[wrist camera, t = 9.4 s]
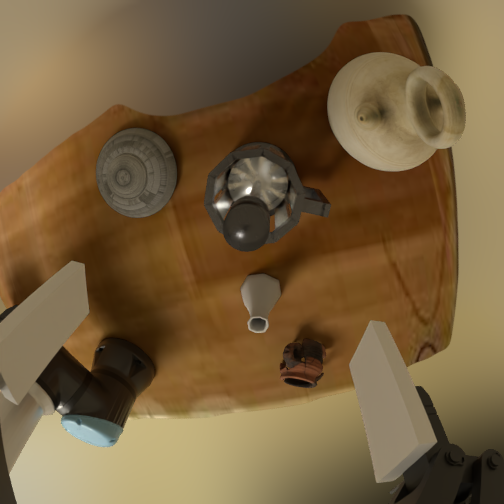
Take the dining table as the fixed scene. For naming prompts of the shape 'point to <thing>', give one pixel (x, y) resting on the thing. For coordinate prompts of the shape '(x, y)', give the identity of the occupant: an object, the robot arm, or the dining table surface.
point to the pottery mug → (303, 363)
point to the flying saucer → (136, 172)
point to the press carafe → (284, 222)
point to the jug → (394, 111)
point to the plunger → (253, 201)
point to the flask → (260, 299)
